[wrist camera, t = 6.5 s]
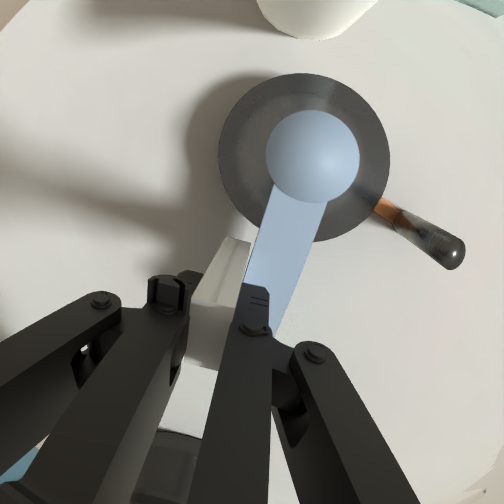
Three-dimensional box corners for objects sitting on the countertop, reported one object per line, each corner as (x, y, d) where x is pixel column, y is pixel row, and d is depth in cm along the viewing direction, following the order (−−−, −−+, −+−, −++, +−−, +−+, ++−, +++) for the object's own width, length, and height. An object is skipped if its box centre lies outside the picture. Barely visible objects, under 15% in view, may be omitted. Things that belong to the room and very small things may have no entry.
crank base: (240, 247, 18) (221, 293, 12) (219, 96, 15) (188, 65, 9) (412, 232, 17) (463, 268, 11) (401, 88, 14) (454, 64, 8)
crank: (280, 107, 12) (282, 91, 9) (356, 134, 12) (379, 128, 9) (214, 327, 17) (201, 361, 14) (276, 345, 17) (275, 382, 14)
